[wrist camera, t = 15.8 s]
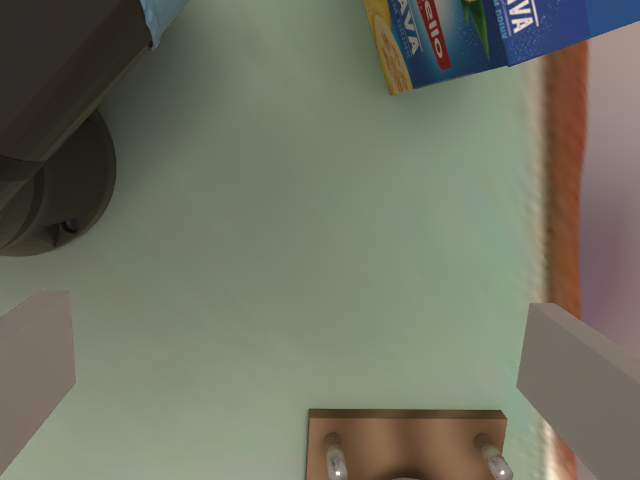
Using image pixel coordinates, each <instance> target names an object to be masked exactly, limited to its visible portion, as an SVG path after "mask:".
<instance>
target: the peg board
mask: <svg viewBox="0 0 640 480" xmlns="http://www.w3.org/2000/svg"><path fill="white" fill-rule="evenodd" d="M506 425H507V418H506V417H505V415H504V414H503V413H502V411H501V410H375V409H309V421H308V440H307V459H306V478H305V480H329V475H328V467H327V459H326V451H325V443H324V438H325V436H326V435H327V434H328V433H330V432H336V433H338V434H339V435H340V436H341V441H342V446H343V452H344V458H345V463H346V469H347V474H348V478H347V480H391V479H395V478H400V477H407V478H412V479H419V480H496V479H495V478H494V476H493V474H492V473H491V471H490V469H489V468H488V466H487V464H486V462H485V461H484V459H483V457H482V456H481V454H480V452H479V451H478V449H477V447H476V446H475V444H474V437H475V436H476V435H477V434H479V433H487V434H488V435H489V437H490V438H491V440H492V441H493V443H494V444H495V446H496V447H497V449H498V450H499V452H500V453H501V455H502V450H503V444H504V438H505V431H506Z"/></svg>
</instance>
